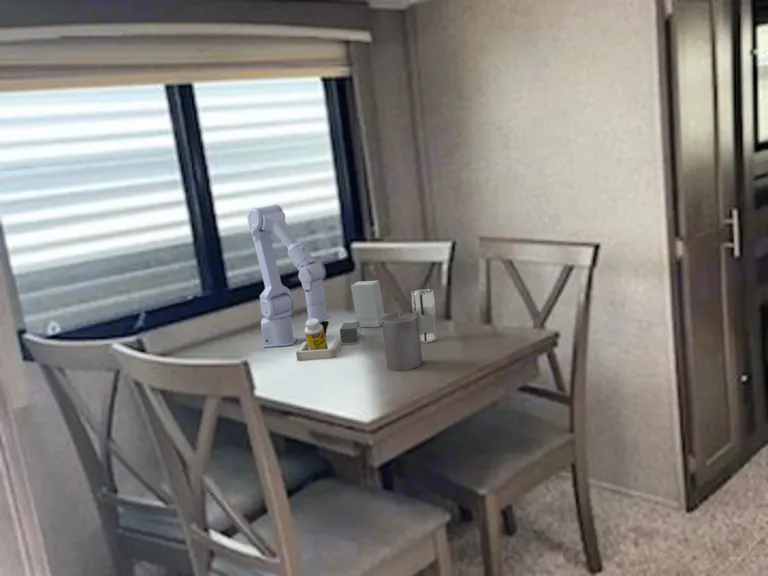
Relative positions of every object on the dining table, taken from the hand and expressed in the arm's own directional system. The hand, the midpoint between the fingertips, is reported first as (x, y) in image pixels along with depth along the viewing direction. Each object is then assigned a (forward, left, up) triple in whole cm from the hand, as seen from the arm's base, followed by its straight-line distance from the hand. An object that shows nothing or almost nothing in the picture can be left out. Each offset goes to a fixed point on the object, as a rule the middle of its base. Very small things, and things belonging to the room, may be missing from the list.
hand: (321, 346), depth 235 cm
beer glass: (+32, +2, -1) cm, 32 cm away
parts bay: (0, -3, -1) cm, 3 cm away
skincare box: (+12, +26, -1) cm, 28 cm away
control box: (+8, +8, -1) cm, 11 cm away
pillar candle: (+27, -22, -1) cm, 35 cm away
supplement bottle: (0, -3, -1) cm, 3 cm away
